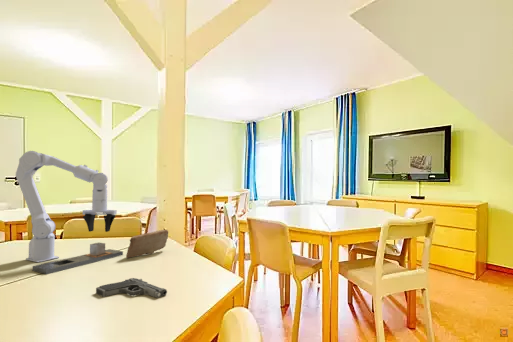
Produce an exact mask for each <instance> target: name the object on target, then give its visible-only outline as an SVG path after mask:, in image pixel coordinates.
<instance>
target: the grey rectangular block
mask: <svg viewBox="0 0 513 342" xmlns="http://www.w3.org/2000/svg"><path fill="white" fill-rule="evenodd" d="M105 250H106V243H105V242H95V243H90V244H89V254H90V255H93V256H100V255H104V254H105Z"/></svg>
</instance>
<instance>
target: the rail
mask: <svg viewBox="0 0 513 342" xmlns="http://www.w3.org/2000/svg"><path fill="white" fill-rule="evenodd" d="M123 255H124V251H121V250H116V249H110V248H109V249H105V254H104V255H100V256H93V255H90V253H87V254H86V253H85V254H82V255H77V256H72V257H69V258H63V259H59V260H56V261H50V262H46V263H41V264H37V265H33V266H32V269H31V270H32V272H37V273H40V274H44V275H49V274H53V273H57V272H60V271H65V270H68V269H73V268H76V267H77V268H78V267H80V266H84V265H89V264H93V263H96V262H101V261H105V260H108V259H112V258H116V257H121V256H123Z"/></svg>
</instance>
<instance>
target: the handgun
mask: <svg viewBox="0 0 513 342" xmlns="http://www.w3.org/2000/svg"><path fill="white" fill-rule="evenodd" d="M122 293H124V294H127V295H129V296H133V297H134V296H138V295H145V296H151V297H153V298H157V299H158V298H161V297H165V296H166V295H167V293H168V290H167V289H166V288H163V287H159V286H156V285H155V284H151V283H148V282H147V281H145V280H143V279H142V278H140V279H139V278H136V277H131V278H127V279H125V280H123V281H118V282H113V283H108V284H103V285H99V286H97V287H96V288H95V294H97V295H99V296H100V297H103V298H105V297H108V296H113V295H114V296H115V295H117V294H118V295H119V294H122Z"/></svg>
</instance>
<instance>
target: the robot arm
mask: <svg viewBox="0 0 513 342" xmlns="http://www.w3.org/2000/svg"><path fill="white" fill-rule="evenodd" d="M44 166H46V167H48V166H49V167H51V166H53V167H56V168H60V169H62V170H65V171H67V172H71V174H73V177H74V178H77V179H80V180H81V181H85V182H87V183H92V184H93V186H92V201H91V203H92V204H91V205H92V206H91V209H84V210H83V209H82V218H83V220H84V222H85V223H86V226H87V229H88V232H90V233H91V232H93V231H94V229H95V225H94V224H95V219H96V215H97V216H98V215H99V216H103V219H104V232H106V233H108V232H110V230H111V227H112V224H113V223H114V220H115V218H116V215H117V210H115V209H108V185H107V182H108V180H109V179H108V176H107V175H106V174H105V173H103V172H99V170H98V169H96V170H95V169H92V168H90V167H88V165H86V164H84V165H82V164H79V165H74V164H72V163H70V162H67V161H65V160H62V159H60V158H57V157H55V156H53V155H49V154H46V153H41V152H38V151H35V150H28V151H25V152H24V153H23V154H22V155H21V156H20V158H19V160H18V166H17V169H16V172H15V178H16V180H17V182H18V185H19V186H18V187H19V188H20V190H21V191H20V192H21V194H22V195H23V198H24V201H25V203H26V206H27V208H28V211H29V214H30V216H31V225H32V228H31V233H32V235H33V237H32V238H31V239H30V241H29V242H28V257H26V258H25V260H27V261H31V262H34V263H35V262H36V263H42V262H45V261H46V262H47V261H49V260H51V261H52V260H55V259H59V258H60V256H57V255H55V243H56V242H55V240H56V239H55V238H56V235H55V234H54V233H53V232H54V231H56V223H55V221H53V220H52V219H51V218H50V215H49V214H48V213H47V211H46V209H45V206H44V203H43V201H42V198H41V195H40V193H39V190H38V188H37V184H36V182H35V180H34V178H33V177H34V175H35V174H36V173H37V171H38V170H40V169H41V168H43V167H44Z"/></svg>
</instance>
